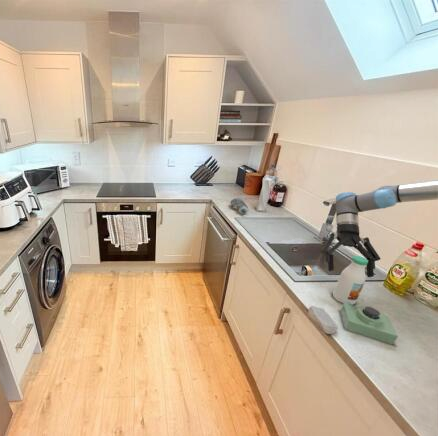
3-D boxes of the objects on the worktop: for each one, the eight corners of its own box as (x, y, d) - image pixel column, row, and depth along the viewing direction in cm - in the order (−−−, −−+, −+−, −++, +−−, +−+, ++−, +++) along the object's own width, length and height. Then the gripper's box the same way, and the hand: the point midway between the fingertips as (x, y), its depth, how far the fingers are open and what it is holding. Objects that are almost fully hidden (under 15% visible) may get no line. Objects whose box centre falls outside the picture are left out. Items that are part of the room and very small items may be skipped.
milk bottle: (336, 303, 97) (353, 262, 89) (329, 290, 104) (344, 252, 96) (358, 307, 95) (378, 266, 87) (350, 294, 102) (367, 255, 94)
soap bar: (329, 338, 85) (342, 332, 82) (313, 335, 85) (326, 328, 81) (317, 312, 93) (328, 305, 89) (303, 309, 92) (313, 302, 88)
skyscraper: (255, 207, 198) (261, 174, 187) (265, 208, 196) (273, 175, 185) (256, 211, 191) (263, 177, 179) (267, 212, 188) (274, 177, 177)
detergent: (228, 204, 204) (233, 214, 181) (230, 196, 201) (235, 206, 178) (244, 206, 203) (251, 217, 180) (246, 198, 200) (253, 208, 177)
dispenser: (383, 323, 87) (389, 311, 85) (392, 344, 79) (400, 331, 77) (340, 310, 93) (345, 299, 91) (345, 329, 85) (350, 316, 83)
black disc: (375, 313, 85) (378, 308, 84) (379, 321, 82) (381, 316, 81) (361, 309, 87) (363, 305, 86) (364, 316, 83) (366, 312, 83)
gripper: (376, 232, 104) (381, 280, 97) (311, 224, 111) (312, 269, 104) (388, 226, 97) (394, 278, 90) (318, 219, 104) (319, 266, 97)
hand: (350, 273), depth 97 cm, fingers open, 13 cm apart
